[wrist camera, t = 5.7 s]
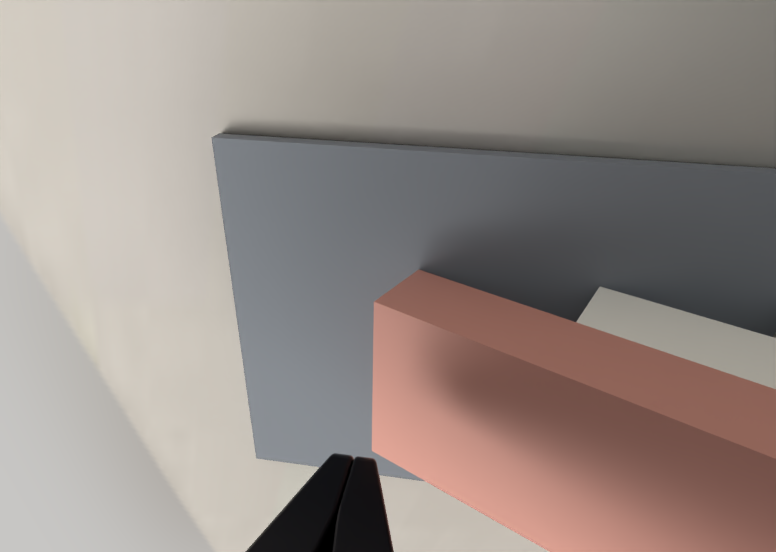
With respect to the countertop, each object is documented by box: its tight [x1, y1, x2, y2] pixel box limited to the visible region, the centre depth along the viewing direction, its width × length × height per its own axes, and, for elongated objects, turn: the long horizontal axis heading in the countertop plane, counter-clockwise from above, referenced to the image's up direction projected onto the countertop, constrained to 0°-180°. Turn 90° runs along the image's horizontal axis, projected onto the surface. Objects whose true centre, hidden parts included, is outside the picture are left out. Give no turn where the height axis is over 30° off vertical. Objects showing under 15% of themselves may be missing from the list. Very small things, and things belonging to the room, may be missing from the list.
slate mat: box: [212, 133, 776, 481], centre depth 13 cm, size 10×23×1 cm, turn 89°
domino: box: [372, 270, 776, 552], centre depth 10 cm, size 4×2×9 cm
